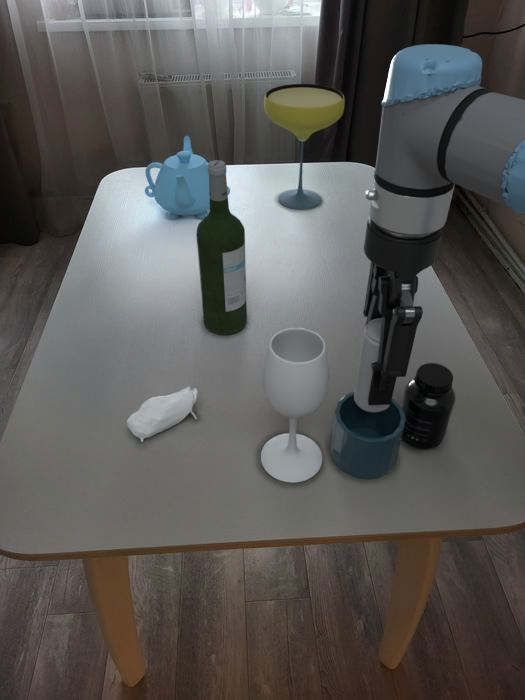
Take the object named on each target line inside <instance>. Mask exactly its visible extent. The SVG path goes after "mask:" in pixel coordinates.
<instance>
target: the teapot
mask: <svg viewBox="0 0 525 700" xmlns="http://www.w3.org/2000/svg"><path fill="white" fill-rule="evenodd" d="M191 143H192V142H191V137H190V136H189V135H185V136H184V137H183V147H182V149H183V150H181V151H178V152H177V153H176V154H175V155H172V156H169V157H168V158H166V159H165V160H164V162H163V163H161V162H152V163H150V164H148V165H147V166H146V168H145V170H144V171H145V178H146V180H147V183H148V185H146V186H145V188H144V194H145V195H146V196H147V197H148V198H154V200H155V201H156V203H157V204H158V205H159V206H160V207H161V208H162V209H163V210H164V211H166V212H168V216H167V217H168V218H169V219H172V220H175V219H178V218H180V217H181V216H192V215H193V216H194V215H196V218H199V219H203V218H204V217H205V216H206V215H208V214H209V211H210V197H209V173H208V165H209V162H208V161H207V160H206V159H205V158H204V157H203V156H201V155H198V154H195V153H194V152H193V149H192V144H191ZM154 168H155V169H159V171H158V173H157V176H156V178H155V182H154V180H153V178H152V175H151V169H154ZM150 190H151V191H150ZM227 192H228V196H229V195H230V193H231V188H230V187H229V186H228V185H227Z"/></svg>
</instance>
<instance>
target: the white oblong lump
mask: <svg viewBox="0 0 525 700" xmlns="http://www.w3.org/2000/svg"><path fill="white" fill-rule="evenodd" d="M197 389H198V388H197V387H196V388H195V387H193V389H191V386H187V387H185V388H183V389H181V390H179V391H176V392H173V393H171V394H168V395H158V396H154V397H150V398H149V399H147V400H145V401H144V402H142V403H141V405H140V406H139V408H138V410H137V411H135V412H134V413H132V414H130V416H129V417H128V419H127V421H126V427H127V428H128V429H129V430H130V432H131V433H132V434H133V436H134V437H137V438H138V439H139V440H140V442H141V443H144V439H149V438H151V437H153V436H155V435H157V434H158V433H161V432H164V431H165V430H168V429H170V428H171V427H173V426H176V425H177V424H179V423H181V422H182V421H183V420H184V419H186V417H187V416H188V415H189V414H191V415H192V417H193V418H194V419H195V420H197V419H198V417H197V416H196V414H195V413H194V411H193V407H194V405H195V404H196V403H197V402H196V401H197V399H198V393H199V391H198V390H197Z"/></svg>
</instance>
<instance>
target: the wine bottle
mask: <svg viewBox="0 0 525 700" xmlns="http://www.w3.org/2000/svg"><path fill="white" fill-rule="evenodd" d="M208 163H209V165H208V173H209V197H210V209H209V210H208V215H206V216H205V217H204V218H201V220H200V221H199V223H198V225H197V227H196V235H195V236H196V248H197V258H198V270H199V282H200V292H201V294H200V295H201V305H202V314H203V315H202V316H203V324H204V327H205V328H206V329H207V330H208V331H209V332H211V333H213V334H215V335H218V336H219V335H220V336H230V335H235V334H236V333H239V332H241V331H242V330H243V329H244V328H245V327H246V325H247V323H248V310H247V306H248V305H247V269H246V265H247V264H246V232H245V231H246V230H245V226H244V224H243V223H242V222H241V220H240V219H239V218H238V217H237V216H236V215H234V214H233V213H232V212H231V210H230V205H229V195H228V192H227V186H228V183H227V165H226V162H225V161H223V160H222V159H221V160H219V159H214V160H211V161H209V162H208Z"/></svg>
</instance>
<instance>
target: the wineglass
mask: <svg viewBox="0 0 525 700" xmlns="http://www.w3.org/2000/svg"><path fill="white" fill-rule="evenodd" d="M265 352H266V353H265V356H264V361H263V367H262V388H263V393H264V397H265V399H266V401H267V402H268V405H270V407H271V408H272V409H273V410H275V411H276V412H277V413H278V414H280V415H281V416H284V417H287V418H289V432H288V433H281V434H278V435H276V436H273V437H272V438H270V439H269V440H268V441H267V442H265V444H264V445H263V447H262V449H261V452H260V462H261V465H262V467H263V469H264V470H265V471H266V473H267V474H268V475H269V476H271V477H272V478H274V479H276V480H278V481H280V482H283V483H291V484H293V483H295V484H296V483H301V482H305V481H308V480H310V479H311V478H313V477H314V476H315V475H316V474H317V473H318V472H319V471H320V470H321V467H322V464H323V453H322V450H321V448H320V447H319V445H318V444H317V443H316V442H315V441H314V440H313V439H312V438H309V437H308V436H306V435H303V434H299V433H297V428H298V419H299V418H304V417H307V416H309V415H311V414H313V413H314V412H316V411H317V410H318V409H319V408H320V407H321V406H322V405H323V403H324V401H325V399H326V396H327V393H328V389H329V382H330V362H329V361H330V360H329V355H328V349H327V345H326V342H325V340H324V338H323V337H322V336H321V335H320V334H319V333H318V332H315V331H314V330H311V329H308V328H304V327H289V328H285V329H282V330H280V331H278V332H276V333H275V334H274V335H273V336H272V337H271V338H270V340H269V343H268V346H267V350H266V351H265Z"/></svg>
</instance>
